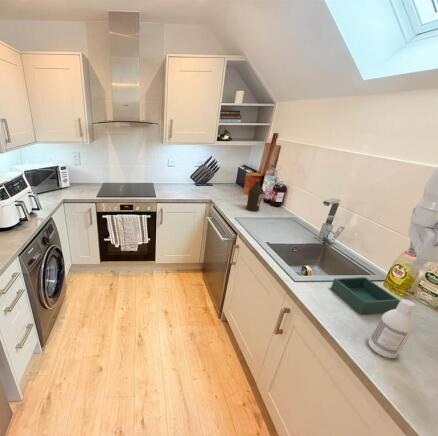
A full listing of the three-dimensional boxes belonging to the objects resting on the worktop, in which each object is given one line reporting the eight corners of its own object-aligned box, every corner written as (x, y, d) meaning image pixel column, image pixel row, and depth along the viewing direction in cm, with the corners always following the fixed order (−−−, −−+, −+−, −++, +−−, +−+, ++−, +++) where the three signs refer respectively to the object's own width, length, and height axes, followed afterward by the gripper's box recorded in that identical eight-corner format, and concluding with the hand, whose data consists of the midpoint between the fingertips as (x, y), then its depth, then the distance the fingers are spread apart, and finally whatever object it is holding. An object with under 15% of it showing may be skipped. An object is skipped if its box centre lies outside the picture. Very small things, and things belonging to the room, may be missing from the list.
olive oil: (243, 209, 194) (249, 180, 184) (247, 206, 201) (253, 177, 191) (257, 212, 188) (263, 182, 178) (260, 209, 195) (267, 179, 185)
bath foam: (377, 338, 82) (403, 292, 74) (401, 356, 76) (432, 308, 68) (362, 342, 80) (386, 296, 72) (386, 361, 74) (415, 313, 66)
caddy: (360, 286, 106) (365, 276, 104) (394, 311, 93) (400, 300, 91) (330, 288, 105) (334, 278, 103) (360, 313, 92) (365, 302, 90)
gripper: (464, 235, 56) (437, 282, 61) (443, 210, 70) (422, 250, 76) (425, 227, 60) (403, 272, 65) (413, 205, 74) (395, 244, 79)
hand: (413, 260), depth 70 cm, fingers open, 8 cm apart
